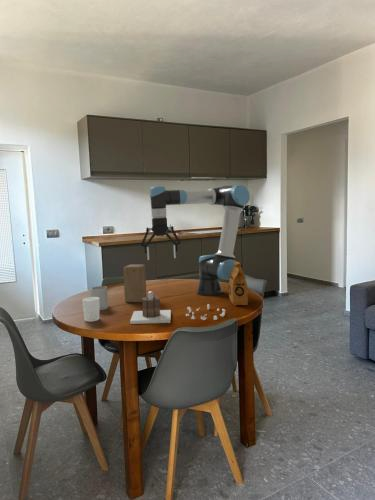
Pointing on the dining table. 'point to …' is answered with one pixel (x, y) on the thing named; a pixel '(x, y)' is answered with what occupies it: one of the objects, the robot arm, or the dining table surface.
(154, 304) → the walnut bead
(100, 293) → the mug
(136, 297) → the wooden block
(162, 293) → the dining table surface
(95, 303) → the white cup
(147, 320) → the white flat block
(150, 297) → the post
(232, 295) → the coffee package
